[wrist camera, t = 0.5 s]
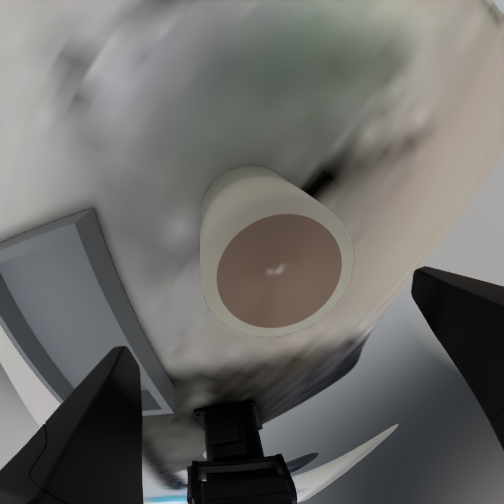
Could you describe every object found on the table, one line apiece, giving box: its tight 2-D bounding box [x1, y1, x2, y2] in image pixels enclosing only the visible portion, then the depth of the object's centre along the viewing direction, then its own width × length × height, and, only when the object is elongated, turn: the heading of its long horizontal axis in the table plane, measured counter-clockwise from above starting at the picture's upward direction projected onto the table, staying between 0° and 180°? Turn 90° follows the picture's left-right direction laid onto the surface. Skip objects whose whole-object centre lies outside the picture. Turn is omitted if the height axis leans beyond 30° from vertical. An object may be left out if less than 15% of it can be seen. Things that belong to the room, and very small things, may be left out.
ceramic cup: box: [200, 166, 354, 337], centre depth 14 cm, size 6×6×8 cm
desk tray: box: [0, 208, 175, 416], centre depth 18 cm, size 18×12×3 cm, turn 10°
